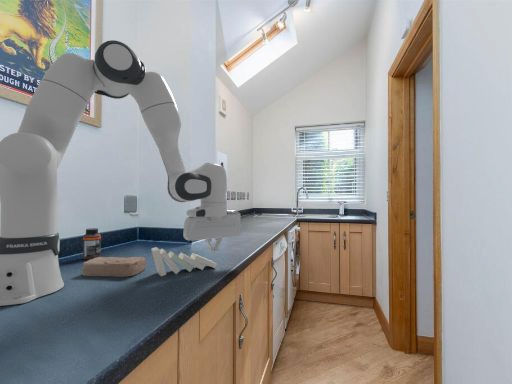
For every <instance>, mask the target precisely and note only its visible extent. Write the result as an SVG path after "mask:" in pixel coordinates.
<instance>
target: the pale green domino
mask: <svg viewBox="0 0 512 384" xmlns="http://www.w3.org/2000/svg"><path fill="white" fill-rule="evenodd" d="M167 254H168V255H169V256H170V258H171V259H172V260H173V262H174V263H177V264H178V265H180V266H181V267H182V268H184V269H185V270H186V271H188V272H189V273H191V272H192V270H193V269H194V266H192V265H191V264H190V263H188V262H186V261H184V260H182V259H181V258H179V257H178V256H179V255H177V254H176V253H174V252H173V251H171V250H169V252H167Z"/></svg>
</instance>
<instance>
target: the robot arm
mask: <svg viewBox="0 0 512 384" xmlns="http://www.w3.org/2000/svg"><path fill="white" fill-rule="evenodd" d="M146 69H147V68H146V65H145V64H144V62H143V61H142V60H140V58H139V57H138V56H137V54H136V53H135V52H134V51H133V50H132V48H131V47H130V46H129V45H127V44H126V43H124V42H122V41H120V40H113V39H112V40H107V41H105V42H103V43H102V44H100V45H99V46H98V48H97V49H96V51H95V53H94V59H86V58H85V57H83V56H82V55H79V54H76V53H73V52H66V53H62V54H61V55H59V57H57V59H56V60H54V62H52V64H51V65H50V66H49V68H48V69H47V70H46V71H45V74H43V77H42V78H41V80H40V82H39V83H38V86H37V87H36V89H35V91H34V92H33V94H32V96H31V97H30V98H31V99H30V100H29V102H28V104H27V106H26V108H25V112H24V115H23V117H22V120H21V123H20V126H19V129H18V130H17V132H15V133H11V134H9V135H6V136H5V137H4V138H2V139H1V141H0V307H1V306H12V305H18V304H26V303H28V302H29V303H30V302H31V301H33V300H35V299H37V298H40V297H43V296H46V295H49V294H52V293H56V292H57V291H59V290H62V288H63V287H64V286H65V283H64V281H63V278H62V273H61V269H60V263H59V253H60V244H61V243H60V238H61V237H60V233H59V232H58V168H59V166H60V165H61V162H62V160H63V157H64V155H65V153H66V151H67V149H68V146H69V144H70V142H71V140H72V137H73V135H74V133H75V131H76V130H77V127H78V125H79V123H80V121H81V119H82V117H83V115H84V113H85V111H86V109H87V107H88V105H89V103H90V100H91V99H92V97H93V95H94V94H97V95H99V96H104V97H108V98H111V99H115V100H116V99H118V100H120V99H123V98H125V97H128V96H129V95H130V96H131V97H132V98H133V99H134V100H135V103H137V105H138V109H139V111H140V114H141V116H142V118H143V121H144V124H145V125H146V128H147V130H148V131H149V133H150V135H151V137H152V138H153V141H154V143H155V145H156V147H157V149H158V151H159V154H160V156H161V159H162V162H163V165H164V168H165V171H166V174H167V192H168V195H169V197H171V199H173V200H174V201H175V202H179V203H186V202H194V201H196V200H200V205H199V206H196V207H193V208H190V209H187V210H186V218H185V220H184V224H183V231H182V232H183V234H182V236H183V238H184V239H185V240H186V241H199V240H205V243H206V244H207V246H208V252H209V253H213V252H219V247H220V245H221V243H222V240H223V238H235V237H240V236H241V234H242V224H241V220H242V217H241V215H242V214H241V213H240V212H239V211H238V210H237V209H235V210H228V203H227V202H228V201H227V190H228V180H227V172H226V169H225V167H224V166H223V165H221V164H218V163H214V162H205V163H204V162H203V164H201V166H199V167H196V168H195V169H192V170H188V171H187V170H186V167H185V165H184V161H183V159H182V156H181V152H180V149H179V138H180V137H179V136H180V132H181V128H182V121H181V120H182V119H181V116H180V112H179V108H178V105H177V103H176V101H175V98H174V96H173V93H172V91H171V89H170V87H169V86H168V84H167V82H166V80H165V79H164V77H163V76H162V75H161V74H160V73H158V72H156V71H155V72H154V71H146ZM213 239H215V243H214V245H212V240H213Z"/></svg>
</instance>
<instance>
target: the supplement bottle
mask: <svg viewBox="0 0 512 384" xmlns="http://www.w3.org/2000/svg"><path fill="white" fill-rule="evenodd" d="M101 247H102V235H101V234H100V233H99V229H98V227H92V228H86V229H85V234H84V235H83V236H82V259H83V260H91V259H93V258H97V257H102V255H101V254H102V249H101Z"/></svg>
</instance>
